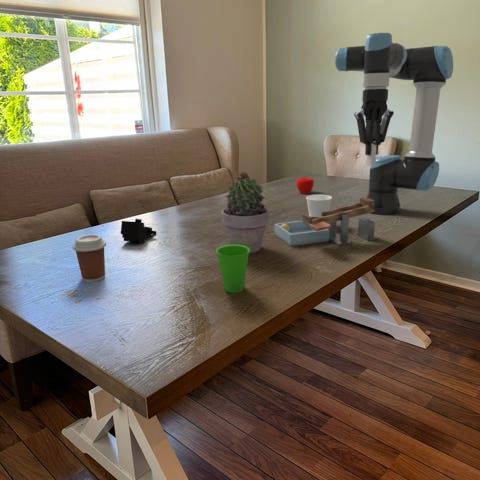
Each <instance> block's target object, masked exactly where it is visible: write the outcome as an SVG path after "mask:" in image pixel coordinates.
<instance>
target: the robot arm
mask: <svg viewBox="0 0 480 480" xmlns="http://www.w3.org/2000/svg"><path fill="white" fill-rule="evenodd" d="M364 44H365V45H360V46H345V47H340V48H338V50H337V51H336V53H335V56H334V65H335V68H336V70H337V71H339V72H363V85H362V86H363V88H364V89H363V90H362V99H361V101H362V106H361V108H360V110H359V111H357V112H354V113H353V115H354V117H355V119H356V122H357V123H356V125H357V130H358V136H359V142H360V143H361V144H363V145H365V149H364V152H365V153H364V155H365V156H366V166H369V181H368V193H367V196H366V198H369V199H372V200H374V210H375V212H371V213H370V214H374V215H394V214H398V213H400V211H401V203H400V199H399V196H398V189H403V190H415V191H419V192H420V191H423V192H424V191H426V192H427V191H429V190H431V189H432V188H433V187H434V186H435V184H436V182H437V180H438V176H439V172H440V163H439V162H438V161H436V156H435V155H434V153H433V146H434V141H435V133H436V126H437V125H436V124H437V117H438V111H439V110H438V109H439V102H440V94H441V89H442V88H443V87H444V86H445V85H446V83H447V80H449V79H450V78H452V76H453V73H454V59H453V58H454V56H453V52H452V50H451V47H448V46H447V45H434V46H433V45H432V46H423V47H422V46H421V47H415V48H414V47H412V48H405V46H404V45H403V44H400V43H398V42H393V35H392V33H390V32H376V33H370V34H367V36H366V38H365V43H364ZM390 78H391V79H397V80H403V81H412V85H413V86H414V87H415V89H416V91H415V98H414V105H413V107H414V108H413V116H412V124H411V132H410V140H409V141H410V142H409V148H408V152H406V154H405V155H404V158H403V159H401V156H400V155H398V154H397V155H396V154H395V155H393V154H392V155H382V156H377V155H378V154H379V146H380V145H381V144H382V143H384V142H385V140H386V137H387V133H388V131H389V126H390V122H391V119H392V117H393V116H394V113H395V112H394V111H393V110H390V109H388V104H387V102H388V99H389V98H388V97H389V89H388V87H389V85H390Z"/></svg>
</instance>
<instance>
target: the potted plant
mask: <svg viewBox="0 0 480 480" xmlns="http://www.w3.org/2000/svg"><path fill="white" fill-rule="evenodd" d="M238 175H239V177H237V181H236V182H235V183H233V184H231V185H230V186H228V187H226V189H227V188H228V190H227V191H226V190H225V191H223V192H228V193H229V194H226V195H225V196H224V198H227V199H225V200H224V201H225V202H224V203H223V205H224V204H225V203H226V206H227V207H224V208H223V209H222V210H221V219H222V224H223V225H224V227H225V230H226V233H227V237H228V240H229V245H243V246H247V247H249V248H250V252H249V255H250V254H255V253H257V252H259V251H260V250H261V249H262V244H263V241H264V236H265V233H266V232H265V231H266V227H267V225H268V224H269V219H270V218H269V217H270V210H269V208H268V207H266V206H265V204H264V201H263V200H264V199H265V200H267V201H271V202H272V203H274V201H272V200H269V199H268V198H266V197H265V196H263V195H262V194H261V193H264V194H265V195H267V193H266V192H264V191H263V189H264V188H263V187H262V184H257V180H256V179H255V178H253V179H251V178H250V177H249V175H248V173H246V172H245V171H241V172H239V174H238ZM221 198H223V197H221Z"/></svg>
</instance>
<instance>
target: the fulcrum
mask: <svg viewBox="0 0 480 480" xmlns="http://www.w3.org/2000/svg"><path fill="white" fill-rule="evenodd" d="M332 209H333V208H331V209H329V210H332ZM337 222H338V221H336V222H332V223H328V224H330V225H331V228H328V230H329V241H328V242H331V243H333V244H334V245H335V246H337V247H341V246H343V247H344V246H350V245H352V242H351V240H349V227H350V226H349V225H350V223H349V222H350V218H349V215H348V214H346V215H341V220H340V233H339V234H340V235H339V234H337Z"/></svg>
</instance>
